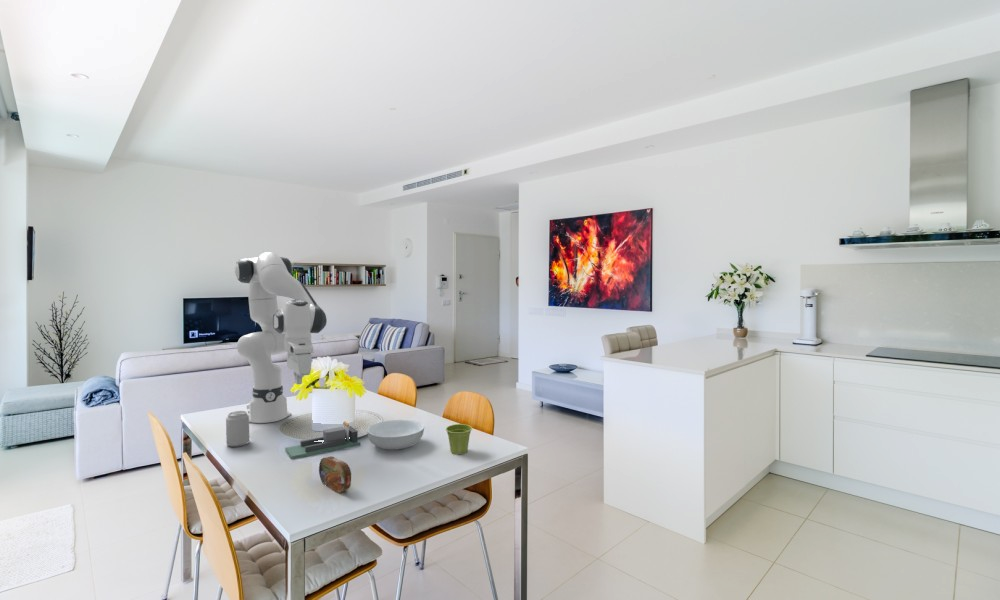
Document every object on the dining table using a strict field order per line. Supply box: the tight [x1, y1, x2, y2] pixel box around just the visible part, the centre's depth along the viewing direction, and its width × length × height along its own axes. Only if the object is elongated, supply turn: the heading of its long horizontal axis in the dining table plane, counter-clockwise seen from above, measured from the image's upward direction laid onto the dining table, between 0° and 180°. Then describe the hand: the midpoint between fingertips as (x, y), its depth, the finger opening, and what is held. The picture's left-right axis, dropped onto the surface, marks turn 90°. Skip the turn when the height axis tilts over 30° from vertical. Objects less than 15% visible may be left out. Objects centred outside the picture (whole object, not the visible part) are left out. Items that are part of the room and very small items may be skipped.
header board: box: [284, 421, 361, 460], centre depth 170 cm, size 10×24×8 cm, turn 126°
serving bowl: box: [366, 419, 425, 451], centre depth 173 cm, size 21×21×7 cm
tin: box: [318, 455, 352, 494], centre depth 138 cm, size 15×3×8 cm, turn 48°
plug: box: [322, 426, 346, 443], centre depth 173 cm, size 4×7×5 cm, turn 124°
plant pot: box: [445, 423, 473, 455], centre depth 167 cm, size 9×9×9 cm
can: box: [225, 410, 250, 448], centre depth 173 cm, size 8×8×12 cm
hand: (298, 383), depth 166 cm, fingers closed
